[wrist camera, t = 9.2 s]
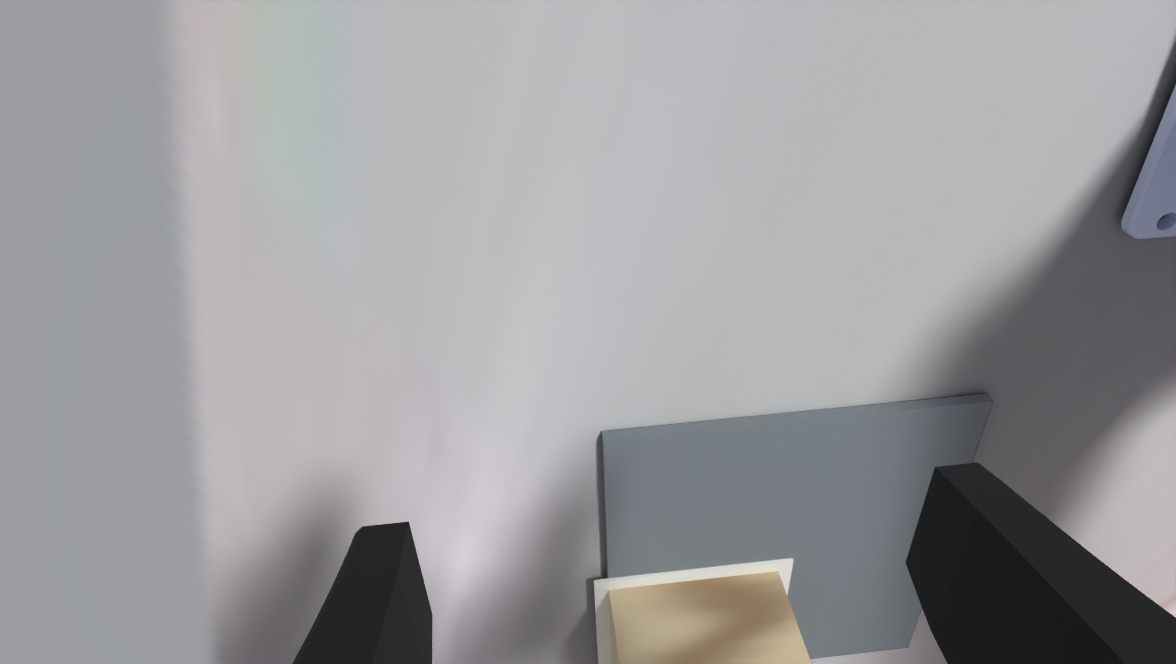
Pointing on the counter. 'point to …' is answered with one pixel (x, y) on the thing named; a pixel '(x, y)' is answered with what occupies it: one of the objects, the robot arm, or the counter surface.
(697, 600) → the oak base
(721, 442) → the slate mat
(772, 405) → the counter surface
